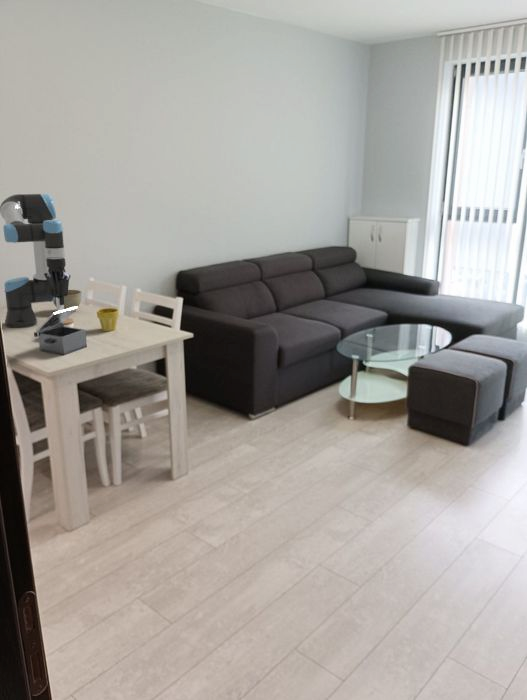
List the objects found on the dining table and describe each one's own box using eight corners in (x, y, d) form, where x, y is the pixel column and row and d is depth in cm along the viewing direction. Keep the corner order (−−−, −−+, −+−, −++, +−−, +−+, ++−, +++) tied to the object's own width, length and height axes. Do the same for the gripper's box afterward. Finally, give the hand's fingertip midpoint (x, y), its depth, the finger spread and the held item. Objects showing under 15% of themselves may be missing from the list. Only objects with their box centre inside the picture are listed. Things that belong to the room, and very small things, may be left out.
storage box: (34, 351, 252) (32, 332, 249) (63, 341, 267) (62, 323, 264) (61, 356, 246) (59, 337, 243) (89, 345, 260) (87, 328, 258)
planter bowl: (77, 315, 315) (76, 295, 311) (48, 314, 315) (46, 295, 312) (86, 308, 330) (85, 289, 327) (58, 307, 330) (57, 289, 327)
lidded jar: (61, 340, 268) (59, 321, 265) (46, 337, 273) (44, 317, 270) (79, 335, 277) (77, 316, 274) (64, 332, 282) (62, 313, 279)
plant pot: (114, 332, 282) (112, 313, 279) (94, 331, 284) (93, 312, 281) (123, 327, 292) (121, 308, 289) (104, 326, 293) (102, 307, 291)
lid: (36, 334, 251) (33, 328, 251) (60, 326, 263) (57, 321, 263) (54, 315, 243) (51, 310, 243) (78, 308, 255) (75, 303, 255)
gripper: (37, 257, 243) (43, 312, 250) (60, 259, 238) (65, 315, 245) (50, 255, 250) (55, 308, 257) (73, 257, 244) (78, 311, 251)
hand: (60, 311), depth 251 cm, fingers closed
